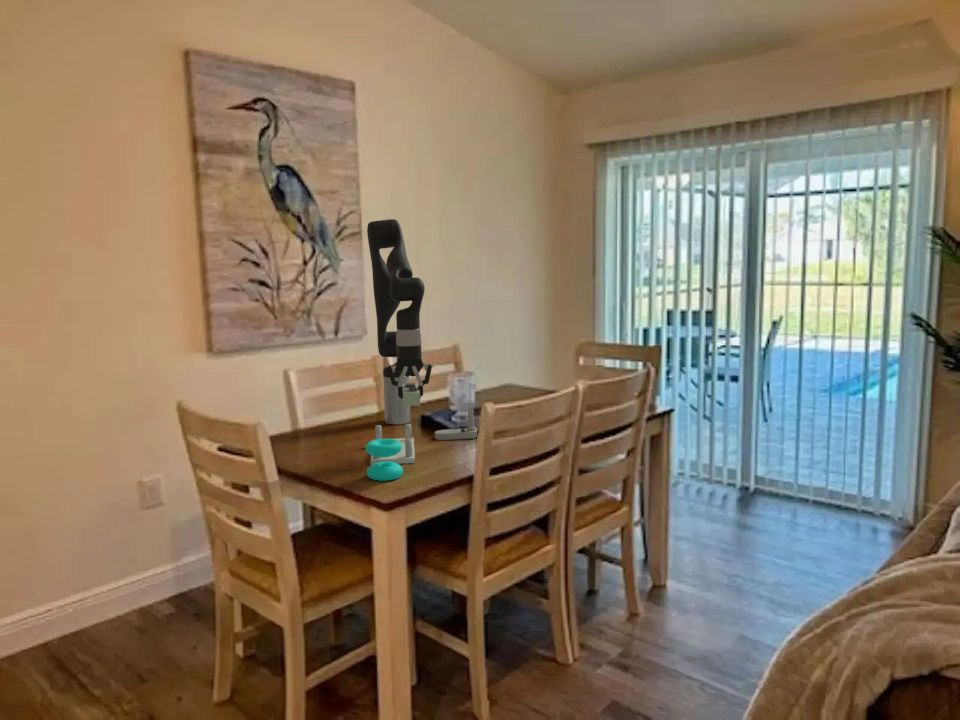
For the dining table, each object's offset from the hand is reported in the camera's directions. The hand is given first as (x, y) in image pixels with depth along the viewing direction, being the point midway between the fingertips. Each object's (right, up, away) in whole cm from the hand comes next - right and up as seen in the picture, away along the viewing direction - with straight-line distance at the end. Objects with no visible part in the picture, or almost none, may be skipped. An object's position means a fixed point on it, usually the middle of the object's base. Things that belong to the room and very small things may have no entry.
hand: (410, 397), depth 231 cm
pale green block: (0, -1, 0) cm, 1 cm away
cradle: (-5, -17, +1) cm, 18 cm away
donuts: (-5, -21, -22) cm, 31 cm away
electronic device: (+14, -15, +19) cm, 28 cm away
